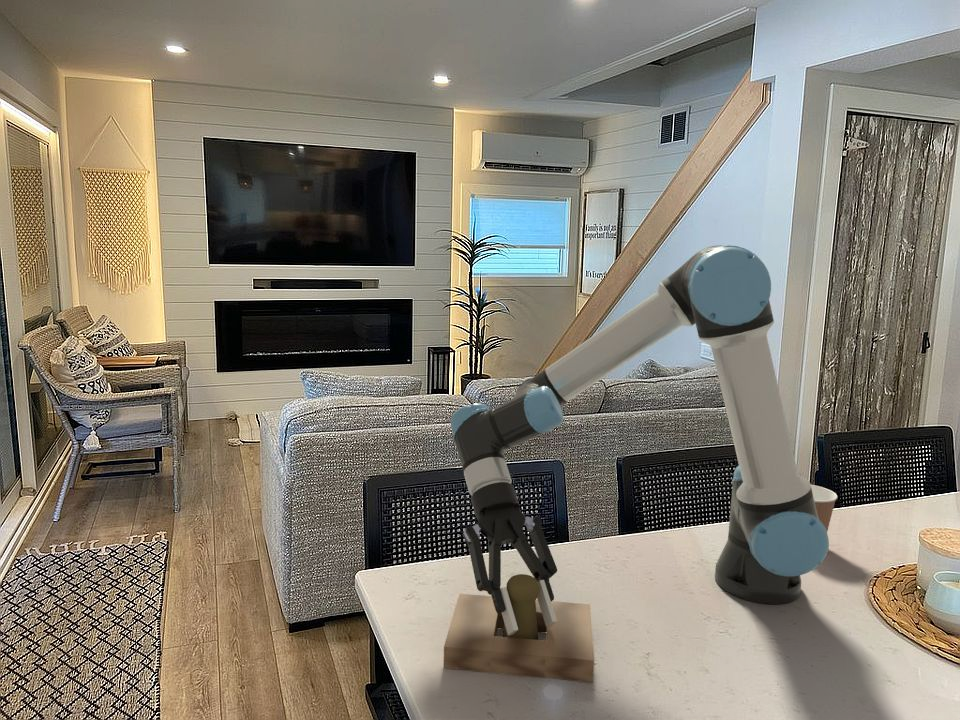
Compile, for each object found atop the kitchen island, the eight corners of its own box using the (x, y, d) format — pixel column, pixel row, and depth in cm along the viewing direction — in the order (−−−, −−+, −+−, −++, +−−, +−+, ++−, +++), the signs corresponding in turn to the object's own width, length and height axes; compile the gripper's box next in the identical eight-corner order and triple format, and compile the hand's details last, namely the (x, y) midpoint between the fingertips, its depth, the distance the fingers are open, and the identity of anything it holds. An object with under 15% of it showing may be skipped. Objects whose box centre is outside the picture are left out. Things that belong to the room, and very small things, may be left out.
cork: (536, 656, 109) (540, 589, 107) (497, 650, 110) (501, 584, 108) (541, 635, 115) (545, 572, 113) (504, 630, 116) (507, 567, 114)
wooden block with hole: (588, 623, 119) (590, 604, 118) (592, 682, 103) (594, 660, 103) (459, 612, 121) (459, 593, 121) (443, 668, 106) (443, 646, 105)
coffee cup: (827, 539, 155) (833, 487, 153) (834, 559, 145) (840, 503, 143) (777, 532, 158) (782, 480, 156) (780, 550, 149) (785, 496, 147)
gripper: (533, 492, 127) (576, 623, 115) (433, 506, 119) (468, 647, 107) (548, 473, 121) (595, 609, 109) (444, 487, 113) (483, 633, 102)
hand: (532, 628), depth 108 cm, fingers open, 6 cm apart
